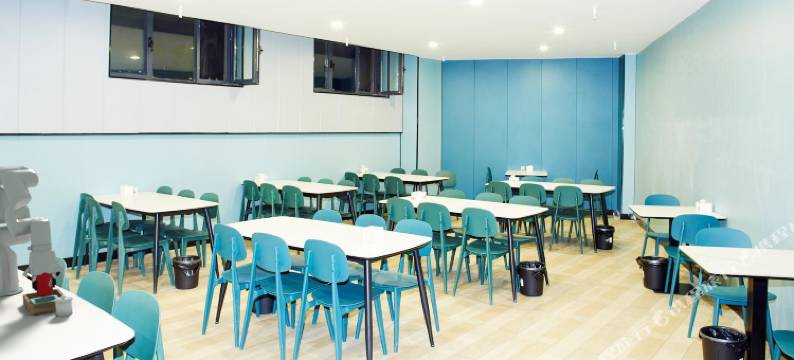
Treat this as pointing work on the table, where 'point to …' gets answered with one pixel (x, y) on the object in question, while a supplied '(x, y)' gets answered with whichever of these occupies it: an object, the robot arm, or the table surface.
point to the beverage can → (44, 285)
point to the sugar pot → (63, 306)
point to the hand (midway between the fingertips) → (44, 288)
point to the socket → (43, 299)
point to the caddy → (42, 307)
